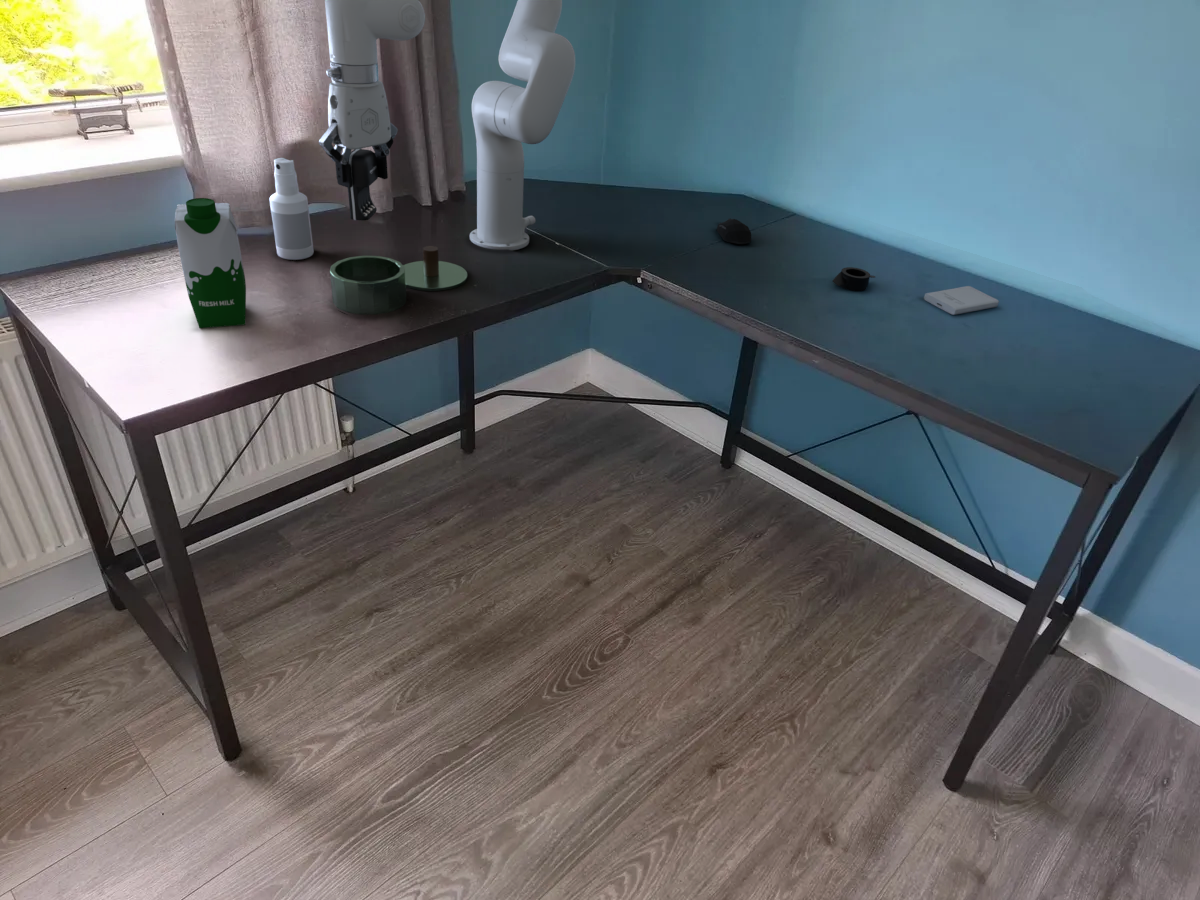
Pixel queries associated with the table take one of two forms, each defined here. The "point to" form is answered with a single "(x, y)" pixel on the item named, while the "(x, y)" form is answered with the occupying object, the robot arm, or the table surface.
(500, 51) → the robot arm
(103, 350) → the table surface
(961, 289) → the hard drive
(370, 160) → the battery charger
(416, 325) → the table surface
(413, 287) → the lid
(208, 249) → the milk carton
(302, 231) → the spray bottle
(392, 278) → the pot
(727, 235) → the gaming mouse
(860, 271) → the duct tape
